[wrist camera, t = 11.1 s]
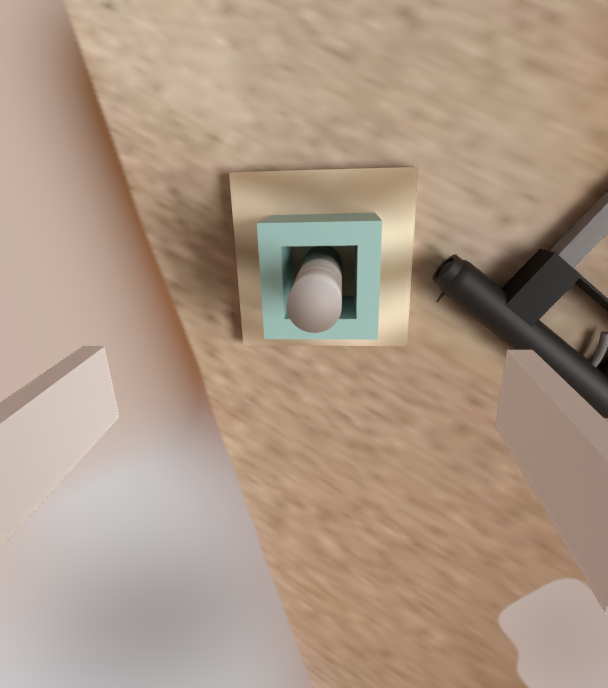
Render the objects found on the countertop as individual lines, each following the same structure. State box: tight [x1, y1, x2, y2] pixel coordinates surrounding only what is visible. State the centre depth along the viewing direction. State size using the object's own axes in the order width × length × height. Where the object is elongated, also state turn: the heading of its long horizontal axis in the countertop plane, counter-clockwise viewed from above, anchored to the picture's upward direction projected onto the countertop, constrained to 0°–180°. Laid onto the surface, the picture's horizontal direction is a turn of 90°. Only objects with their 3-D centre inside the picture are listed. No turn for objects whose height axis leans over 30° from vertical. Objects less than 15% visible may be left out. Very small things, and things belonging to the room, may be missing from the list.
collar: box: [257, 213, 382, 340], centre depth 32 cm, size 8×8×6 cm
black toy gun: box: [433, 191, 608, 418], centre depth 34 cm, size 3×20×16 cm
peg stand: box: [229, 167, 418, 346], centre depth 30 cm, size 14×14×13 cm
